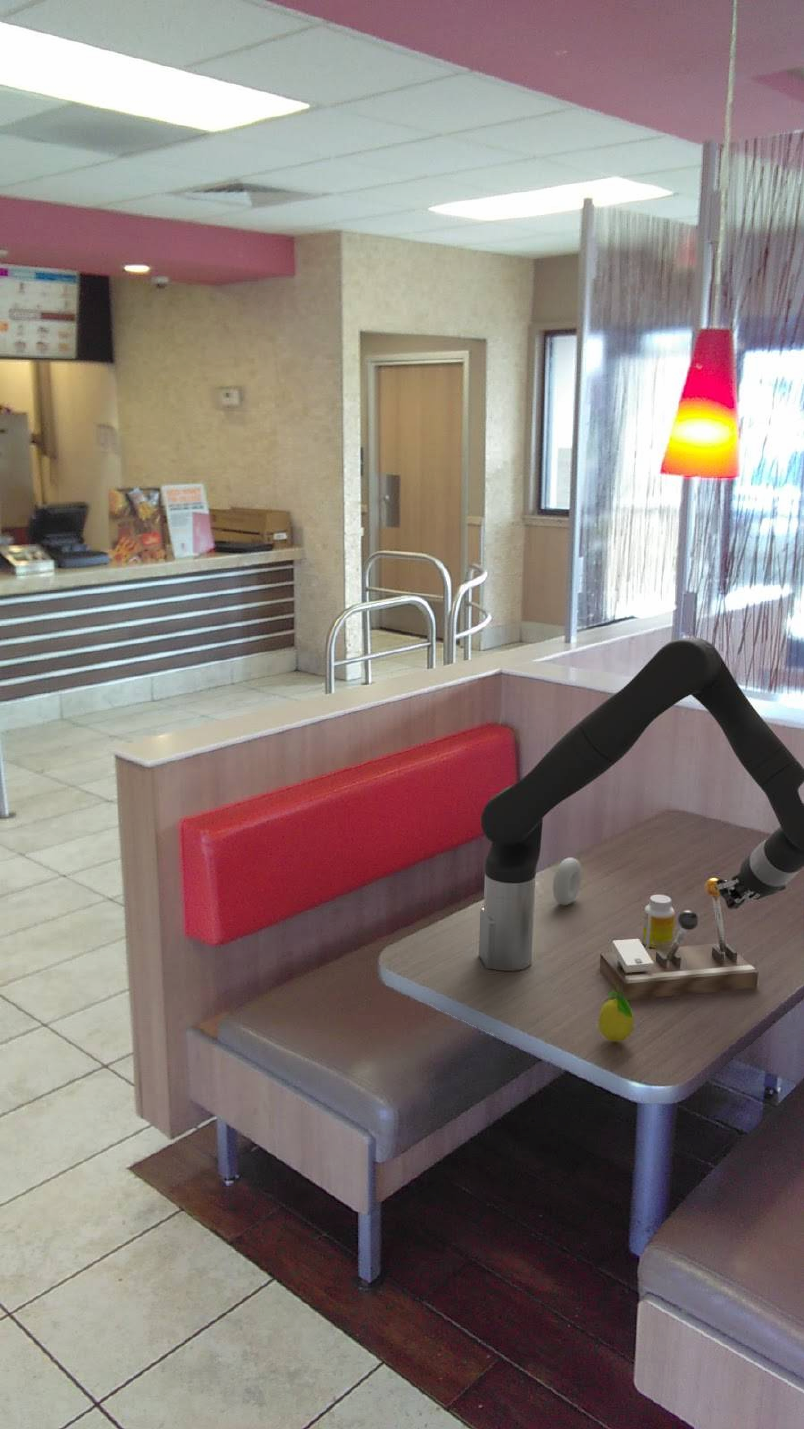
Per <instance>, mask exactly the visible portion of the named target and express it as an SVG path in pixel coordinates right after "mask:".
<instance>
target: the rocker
mask: <svg viewBox="0 0 804 1429" xmlns="http://www.w3.org/2000/svg"><path fill="white" fill-rule="evenodd" d="M611 950H612V952H614V953H615V955H616V957H617V959H618V960H619V962H620V964H621V965H622V967H623V969H624V971H625V972H626V973H628V972H640V971H651V970H652V969H653V964H654V963H653V961H652V960H651V958H650V956H649V955H648V953H647V952H646V949H645V948H644V947H643V942H641V940H640V939H639V938H631V939H630V938H629V939H620V940H618V939H617V940H612V943H611Z"/></svg>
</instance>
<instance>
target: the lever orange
mask: <svg viewBox="0 0 804 1429" xmlns="http://www.w3.org/2000/svg"><path fill="white" fill-rule="evenodd" d="M717 880H719V878H717V877H712V878H711V877H710V878H709V879H708V880H707V881H705V884H704V890H705V892H706V894H707V895H709V896H710V897H712V904H713V911H714V918H715V924H716V931H717V939H718V944H719V947H720V950H721V951H722V952H727V948H726V943H727V942H726V934H725V929H724V927H725V926H724V922H723V915H722V907H721V902H720V901H721V900H720V896H721V895H720V893H719V889H718V886H717V883H716V881H717Z"/></svg>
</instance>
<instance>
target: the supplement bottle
mask: <svg viewBox="0 0 804 1429" xmlns="http://www.w3.org/2000/svg"><path fill="white" fill-rule="evenodd" d="M648 903H649V904H648V905H646V906H645V908H644V915H643V916H644V917H643V929H642V930H643V931H642V945H643V947H644V948H645V950H647V949H659V948H671V946H672V944H673V942H674V940H673V939H674V926H675V910H674V908H673V907H672V899H671V898H670V897H669V896H668V895H665V894H653V895H651V896H650V898H649V902H648Z"/></svg>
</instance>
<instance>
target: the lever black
mask: <svg viewBox="0 0 804 1429" xmlns="http://www.w3.org/2000/svg"><path fill="white" fill-rule="evenodd" d="M677 922H678V924H679V927H680V928H679V930H678V932H677V934H676V935H675V938H674V940H673V941H672V946H671V948H670V950H669V952H668V954H667V956H666V958H667V961H672V960H673V958H674V956H675V954H676V952H677V950H678V948H679V947H681V946H680V945H681V944H682V941H683V939H684V937H685V935H686V933H687V931H691V930H694V929H695V928H696V927H697V926H698V923H699V917H698V915H697V913H696V912H694V911H693V910H691V909H686V910H685V909H684V910H682V911H681V912H680V913H679V914H678V916H677Z"/></svg>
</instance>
